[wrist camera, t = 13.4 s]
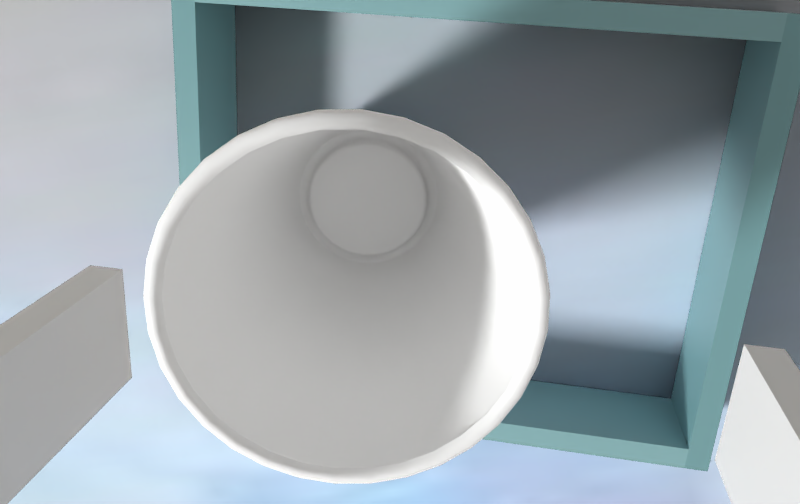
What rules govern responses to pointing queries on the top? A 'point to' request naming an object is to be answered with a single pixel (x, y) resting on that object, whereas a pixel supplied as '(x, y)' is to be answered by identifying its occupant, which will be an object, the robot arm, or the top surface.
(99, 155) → the top surface
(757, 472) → the robot arm
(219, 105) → the walled box
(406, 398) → the cup
